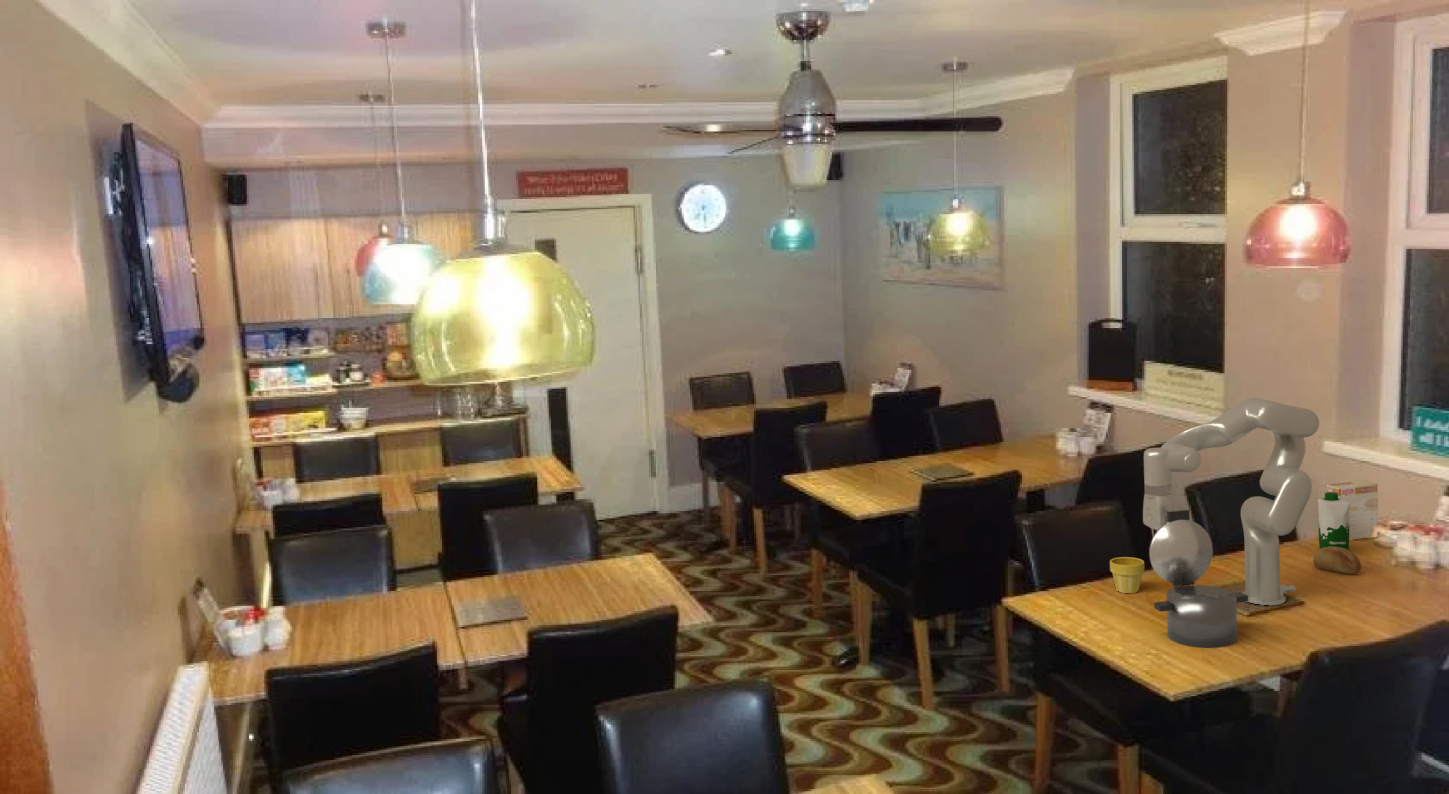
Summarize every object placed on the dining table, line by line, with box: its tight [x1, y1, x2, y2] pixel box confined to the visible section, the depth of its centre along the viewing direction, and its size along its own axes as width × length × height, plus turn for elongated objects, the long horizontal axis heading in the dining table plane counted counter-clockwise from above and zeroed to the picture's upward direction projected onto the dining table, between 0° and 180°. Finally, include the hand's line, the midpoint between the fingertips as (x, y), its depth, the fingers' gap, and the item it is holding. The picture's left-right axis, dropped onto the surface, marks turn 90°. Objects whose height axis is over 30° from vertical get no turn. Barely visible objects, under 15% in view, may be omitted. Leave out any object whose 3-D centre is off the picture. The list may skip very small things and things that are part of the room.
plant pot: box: [1109, 556, 1145, 594], centre depth 360 cm, size 10×10×10 cm
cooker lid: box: [1148, 509, 1214, 588], centre depth 324 cm, size 19×22×3 cm
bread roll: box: [1312, 547, 1362, 575], centre depth 364 cm, size 10×15×8 cm, turn 31°
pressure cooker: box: [1153, 584, 1248, 649], centre depth 316 cm, size 26×19×12 cm
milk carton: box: [1317, 492, 1350, 551], centre depth 384 cm, size 9×9×20 cm
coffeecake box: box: [1326, 479, 1379, 541], centre depth 400 cm, size 15×7×20 cm, turn 97°
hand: (1159, 550), depth 336 cm, fingers closed
